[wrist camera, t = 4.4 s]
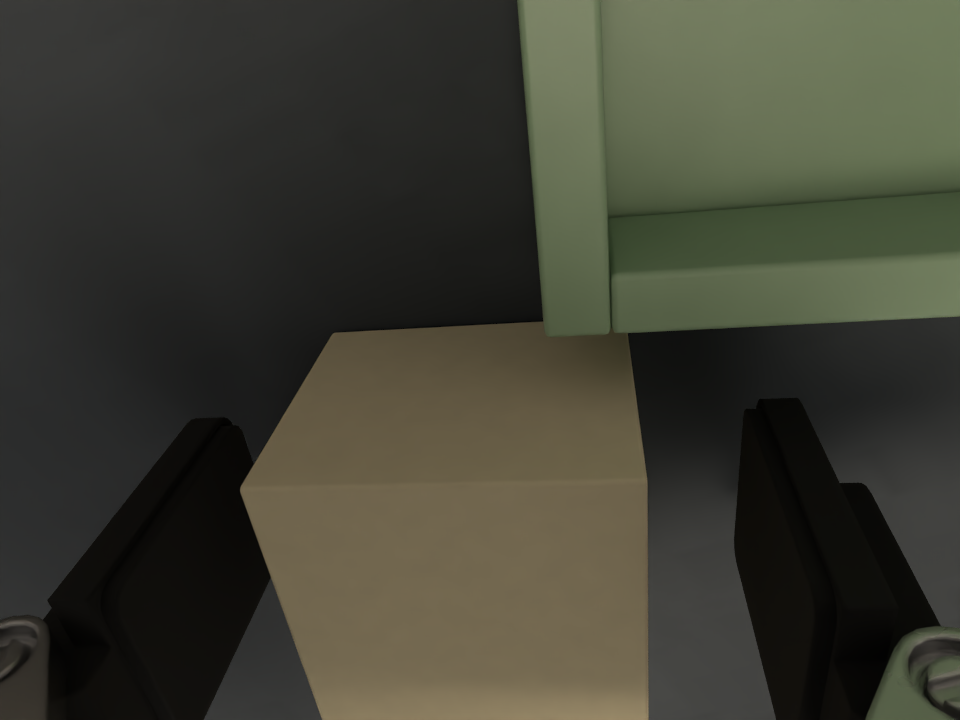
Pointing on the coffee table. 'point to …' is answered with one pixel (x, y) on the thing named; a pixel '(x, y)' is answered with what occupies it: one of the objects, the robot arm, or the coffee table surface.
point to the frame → (742, 161)
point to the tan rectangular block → (462, 525)
